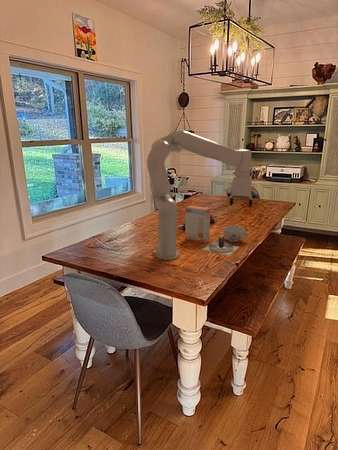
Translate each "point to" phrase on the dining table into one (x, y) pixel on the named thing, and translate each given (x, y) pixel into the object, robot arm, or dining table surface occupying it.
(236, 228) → the teacup
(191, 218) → the cracker box
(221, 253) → the mat
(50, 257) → the dining table surface
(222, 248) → the lid
